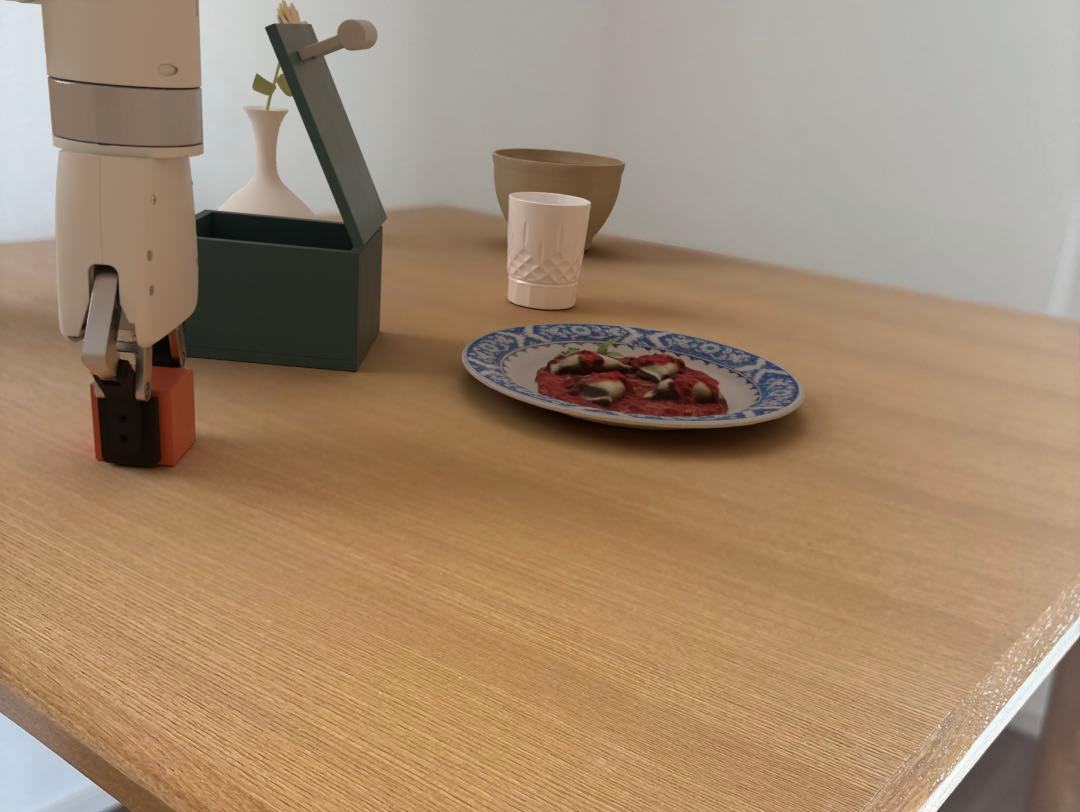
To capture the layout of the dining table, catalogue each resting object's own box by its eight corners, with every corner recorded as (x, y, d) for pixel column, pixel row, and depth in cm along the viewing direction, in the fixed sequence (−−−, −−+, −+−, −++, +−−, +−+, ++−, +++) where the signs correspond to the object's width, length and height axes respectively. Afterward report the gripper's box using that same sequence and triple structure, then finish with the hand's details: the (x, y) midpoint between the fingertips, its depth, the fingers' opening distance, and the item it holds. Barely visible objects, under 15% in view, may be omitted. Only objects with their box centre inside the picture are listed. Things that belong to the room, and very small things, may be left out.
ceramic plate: (857, 460, 77) (866, 418, 76) (481, 449, 72) (484, 404, 71) (736, 355, 100) (742, 321, 98) (445, 342, 95) (447, 306, 94)
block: (95, 459, 65) (89, 384, 63) (122, 434, 69) (117, 362, 67) (173, 466, 65) (170, 391, 63) (196, 440, 69) (193, 369, 67)
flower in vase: (266, 246, 125) (263, -3, 115) (195, 229, 131) (186, -11, 120) (346, 235, 135) (350, 6, 125) (277, 220, 141) (276, -1, 130)
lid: (264, 27, 75) (344, -5, 74) (301, 27, 87) (371, -1, 86) (354, 249, 81) (429, 222, 80) (378, 221, 93) (444, 197, 92)
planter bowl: (553, 231, 152) (561, 146, 147) (641, 255, 141) (652, 164, 137) (460, 237, 141) (465, 146, 137) (547, 263, 131) (556, 165, 126)
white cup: (565, 316, 108) (575, 208, 103) (489, 303, 110) (496, 196, 106) (590, 301, 114) (601, 199, 110) (518, 289, 117) (526, 189, 112)
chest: (161, 354, 85) (155, 234, 81) (208, 315, 96) (204, 209, 92) (356, 371, 85) (359, 253, 81) (379, 330, 96) (382, 225, 93)
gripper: (113, 103, 67) (131, 399, 74) (-18, 125, 51) (22, 495, 59) (240, 115, 67) (246, 409, 75) (147, 141, 52) (166, 508, 59)
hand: (146, 444), depth 67 cm, fingers closed on block, 4 cm apart
